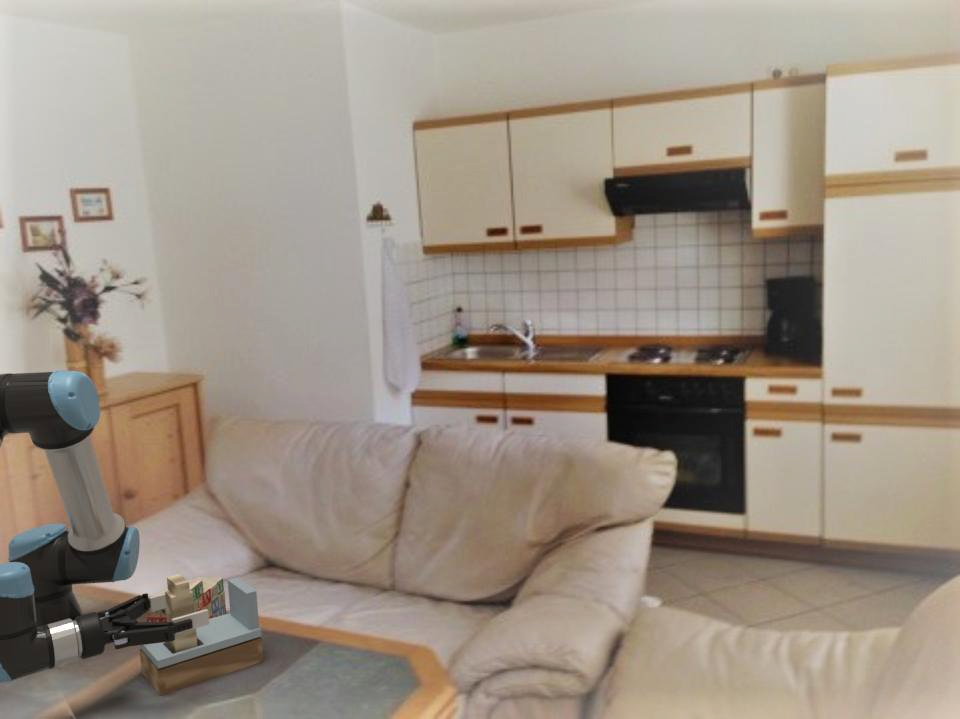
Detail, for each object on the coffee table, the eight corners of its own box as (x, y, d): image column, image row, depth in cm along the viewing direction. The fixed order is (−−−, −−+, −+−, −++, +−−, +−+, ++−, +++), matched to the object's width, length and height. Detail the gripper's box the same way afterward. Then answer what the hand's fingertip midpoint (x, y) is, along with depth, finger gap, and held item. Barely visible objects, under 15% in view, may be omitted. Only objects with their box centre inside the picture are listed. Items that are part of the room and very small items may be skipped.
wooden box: (142, 676, 165) (139, 648, 165) (240, 644, 177) (238, 619, 177) (161, 699, 156) (158, 670, 155) (263, 664, 168) (261, 638, 167)
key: (170, 675, 163) (162, 578, 161) (191, 668, 166) (183, 572, 164) (180, 685, 159) (171, 586, 157) (201, 678, 161) (193, 580, 159)
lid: (139, 646, 165) (135, 602, 164) (238, 617, 177) (235, 576, 176) (158, 668, 155) (154, 621, 154) (261, 636, 167) (258, 592, 166)
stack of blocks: (201, 615, 194) (197, 564, 192) (227, 616, 193) (223, 564, 191) (149, 659, 173) (144, 601, 171) (178, 660, 172) (173, 602, 170)
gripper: (63, 636, 160) (176, 605, 173) (95, 685, 140) (220, 646, 153) (59, 598, 159) (173, 569, 172) (91, 641, 140) (217, 606, 152)
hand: (196, 605), depth 163 cm, fingers open, 13 cm apart
